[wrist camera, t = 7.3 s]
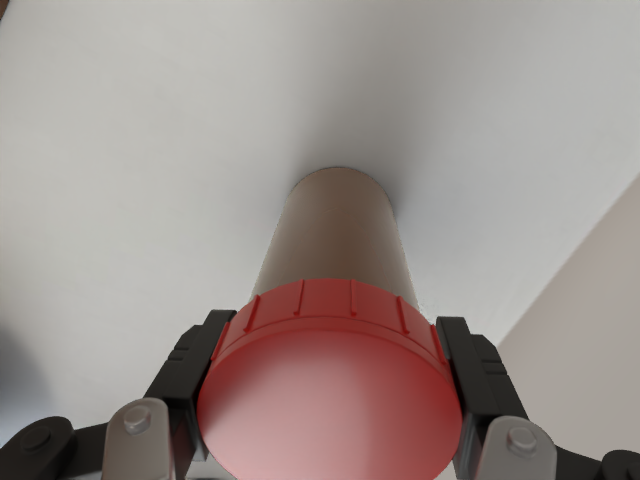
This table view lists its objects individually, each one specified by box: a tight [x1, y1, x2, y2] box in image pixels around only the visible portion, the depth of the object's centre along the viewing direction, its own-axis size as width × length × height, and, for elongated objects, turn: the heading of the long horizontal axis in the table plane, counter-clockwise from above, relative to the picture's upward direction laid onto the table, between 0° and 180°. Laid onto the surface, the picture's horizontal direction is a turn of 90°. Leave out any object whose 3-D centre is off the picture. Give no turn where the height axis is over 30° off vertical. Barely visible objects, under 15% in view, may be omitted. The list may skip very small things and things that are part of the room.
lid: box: [197, 278, 463, 480], centre depth 10 cm, size 6×6×2 cm
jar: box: [248, 167, 420, 312], centre depth 15 cm, size 6×6×12 cm
